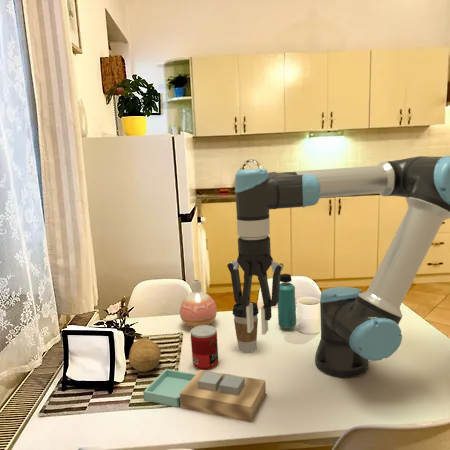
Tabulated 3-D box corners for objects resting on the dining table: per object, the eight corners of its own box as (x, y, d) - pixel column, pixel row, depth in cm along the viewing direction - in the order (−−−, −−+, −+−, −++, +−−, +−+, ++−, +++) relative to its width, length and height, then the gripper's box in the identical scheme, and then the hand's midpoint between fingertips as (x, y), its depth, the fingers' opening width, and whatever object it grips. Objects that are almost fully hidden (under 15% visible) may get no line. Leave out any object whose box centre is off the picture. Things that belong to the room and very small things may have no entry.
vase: (180, 320, 161) (177, 276, 158) (215, 316, 162) (213, 273, 159) (181, 335, 148) (177, 288, 144) (219, 331, 149) (216, 284, 146)
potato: (157, 353, 135) (155, 330, 134) (166, 374, 122) (164, 349, 121) (126, 360, 132) (124, 336, 130) (132, 382, 119) (129, 356, 117)
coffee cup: (252, 356, 130) (250, 311, 127) (229, 351, 134) (227, 307, 131) (264, 345, 137) (262, 302, 134) (242, 340, 141) (240, 298, 138)
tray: (199, 382, 117) (198, 374, 116) (179, 407, 106) (178, 398, 106) (166, 376, 121) (165, 368, 120) (144, 400, 110) (143, 391, 109)
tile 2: (244, 384, 107) (244, 377, 107) (238, 395, 103) (237, 388, 102) (226, 381, 109) (226, 374, 109) (219, 392, 105) (219, 384, 104)
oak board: (265, 394, 110) (265, 380, 109) (251, 422, 99) (251, 407, 98) (200, 382, 117) (199, 369, 116) (180, 407, 106) (179, 393, 105)
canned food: (215, 371, 122) (213, 336, 120) (189, 369, 124) (187, 335, 122) (221, 358, 130) (219, 325, 128) (196, 357, 131) (194, 324, 129)
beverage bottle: (298, 332, 145) (296, 277, 142) (279, 332, 145) (277, 278, 142) (295, 324, 152) (293, 271, 148) (277, 325, 152) (275, 272, 148)
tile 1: (223, 381, 110) (222, 374, 109) (215, 391, 105) (215, 384, 105) (206, 378, 112) (205, 371, 111) (198, 388, 107) (197, 381, 107)
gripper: (291, 233, 97) (294, 328, 101) (227, 232, 103) (232, 321, 107) (283, 240, 90) (286, 342, 94) (215, 238, 96) (221, 334, 100)
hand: (257, 331), depth 100 cm, fingers open, 3 cm apart
